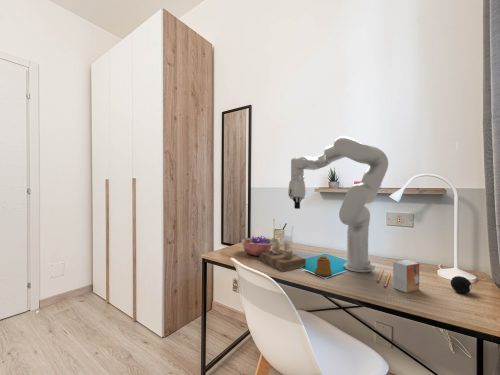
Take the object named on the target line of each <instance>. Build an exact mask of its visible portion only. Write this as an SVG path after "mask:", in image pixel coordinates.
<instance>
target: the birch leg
mask: <svg viewBox="0 0 500 375" xmlns="http://www.w3.org/2000/svg"><path fill="white" fill-rule="evenodd" d="M271 240H272V247H271V250H272V254H274V255H277V254H280V248H281V245H280V244H281V242H280V241H281V238H279V237H272V239H271Z"/></svg>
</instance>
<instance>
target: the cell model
mask: <svg viewBox="0 0 500 375" xmlns="http://www.w3.org/2000/svg"><path fill="white" fill-rule="evenodd" d="M241 243H242V249H243V250H244V252H245V253H246V254H249V255H252V256H257V257H258V256H259V252H264V251H271V250H272V239H270V238H267V237H265V236H264V235H261V236H257V237H255V236H254V235H253V236H252V237H246V238H244V239H243V238H242V239H241Z"/></svg>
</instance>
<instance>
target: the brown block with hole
mask: <svg viewBox="0 0 500 375" xmlns="http://www.w3.org/2000/svg"><path fill="white" fill-rule="evenodd" d="M258 260H260V261H261V262H263V263H265V264H268V265H270V266H272V267H273V268H275V269H277V270H279V271H281V272H289V271H292V270H298V269H301V268H300V267H302V266H306V263H307V262H306V261H307V260H306V258H304V257H301V256H299V255H295V254H293V242H292V241H284V250H283V249H280V254H277V255H274V254H272V249H270V251H264V252H259V255H258Z"/></svg>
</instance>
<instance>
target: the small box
mask: <svg viewBox="0 0 500 375" xmlns="http://www.w3.org/2000/svg"><path fill="white" fill-rule="evenodd" d="M392 268H393V269H392V288H393V289H395V290H397V291H398V290H399V291H401V292H404V293H411V292H415V291H419V290H420V263H419V262H416V261H413V260H408V259H403V260H398V261H393V262H392Z"/></svg>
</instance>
